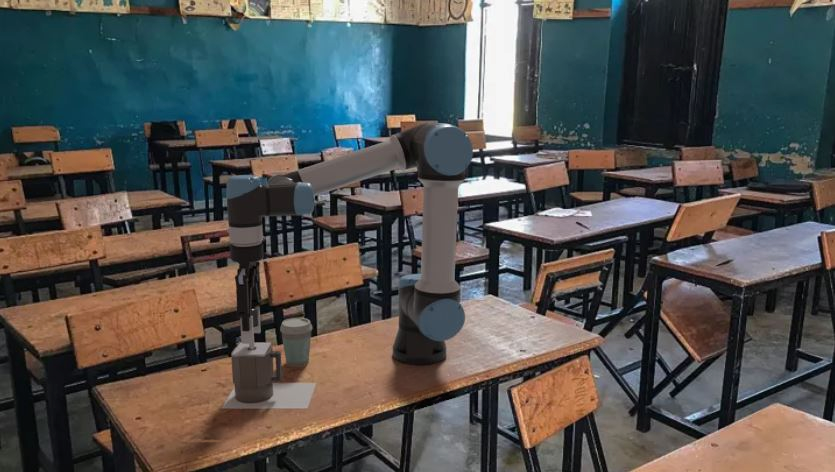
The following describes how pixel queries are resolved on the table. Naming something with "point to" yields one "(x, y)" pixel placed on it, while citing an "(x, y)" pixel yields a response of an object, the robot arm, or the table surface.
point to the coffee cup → (296, 341)
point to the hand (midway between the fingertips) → (251, 337)
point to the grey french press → (255, 372)
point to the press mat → (278, 397)
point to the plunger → (254, 324)
